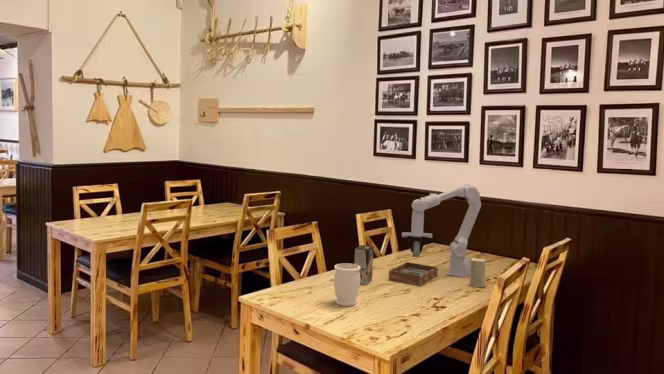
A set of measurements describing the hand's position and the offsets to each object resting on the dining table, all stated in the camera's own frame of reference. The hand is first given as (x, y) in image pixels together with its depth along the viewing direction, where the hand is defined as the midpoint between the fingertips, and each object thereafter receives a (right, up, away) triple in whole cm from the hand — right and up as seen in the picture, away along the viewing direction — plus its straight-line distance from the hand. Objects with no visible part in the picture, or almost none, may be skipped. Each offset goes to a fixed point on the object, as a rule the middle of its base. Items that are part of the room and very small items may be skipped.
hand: (416, 251), depth 260 cm
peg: (0, -2, 0) cm, 2 cm away
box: (-3, -11, -9) cm, 14 cm away
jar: (-35, -15, -47) cm, 61 cm away
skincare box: (+25, -13, -17) cm, 33 cm away
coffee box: (-27, -12, -17) cm, 34 cm away
